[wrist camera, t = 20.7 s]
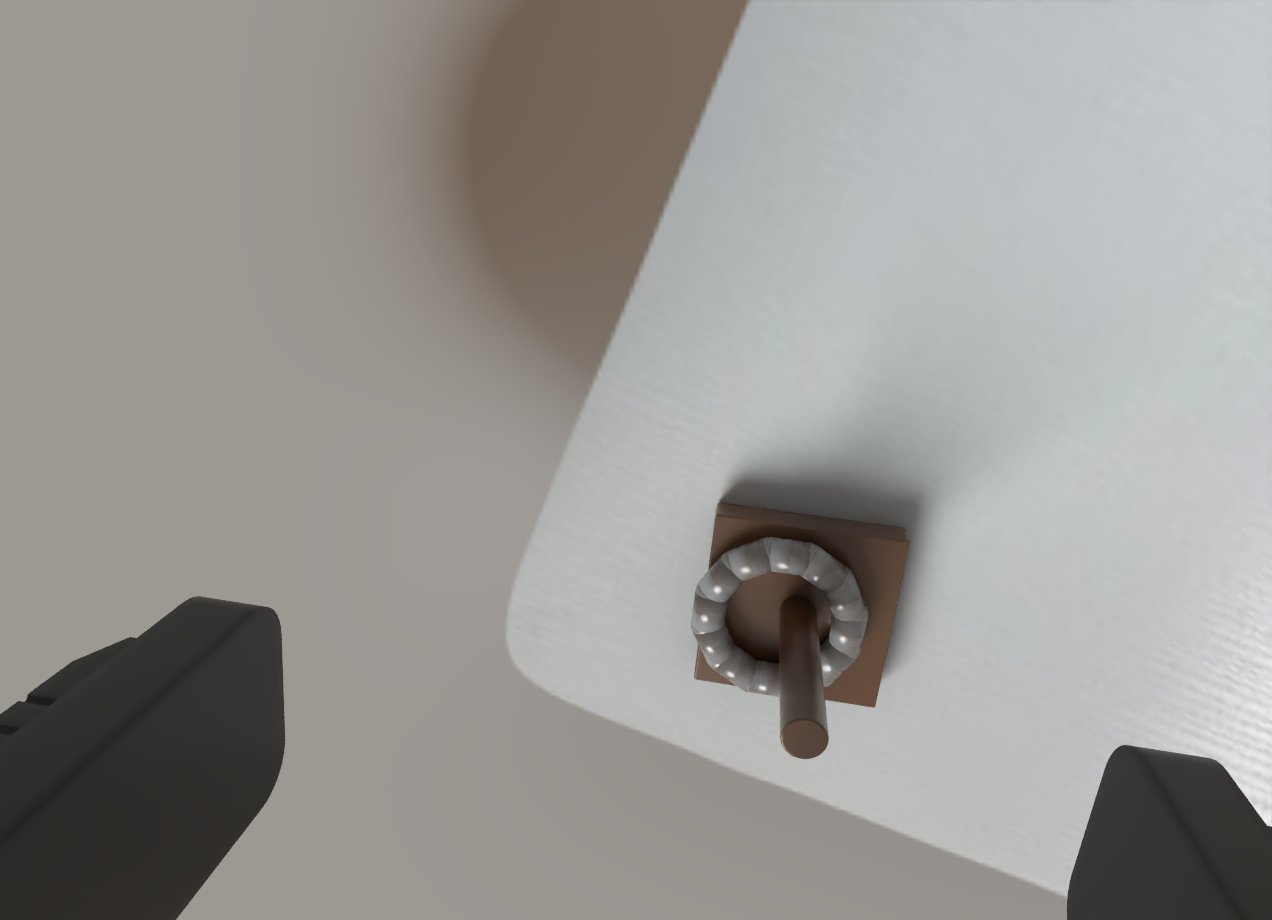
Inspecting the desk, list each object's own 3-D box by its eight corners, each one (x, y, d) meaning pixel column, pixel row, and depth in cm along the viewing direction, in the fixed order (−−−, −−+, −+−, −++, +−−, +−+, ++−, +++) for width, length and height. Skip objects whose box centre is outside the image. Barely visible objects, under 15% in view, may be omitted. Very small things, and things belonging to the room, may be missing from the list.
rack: (696, 662, 43) (673, 815, 33) (717, 501, 40) (700, 616, 30) (871, 689, 42) (902, 855, 32) (905, 527, 39) (950, 654, 30)
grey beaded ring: (685, 670, 41) (682, 688, 40) (704, 522, 39) (702, 535, 38) (848, 696, 41) (851, 715, 39) (878, 546, 38) (882, 561, 37)
